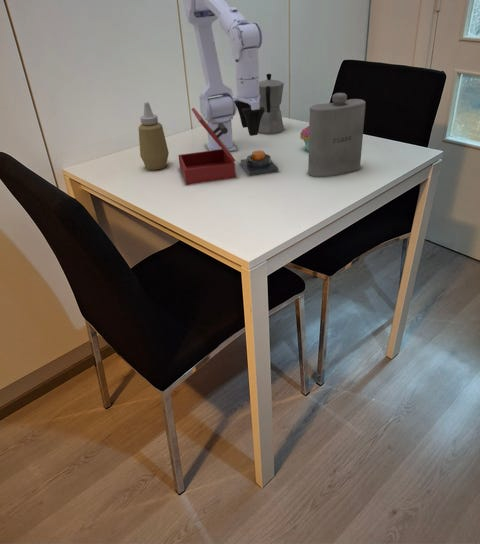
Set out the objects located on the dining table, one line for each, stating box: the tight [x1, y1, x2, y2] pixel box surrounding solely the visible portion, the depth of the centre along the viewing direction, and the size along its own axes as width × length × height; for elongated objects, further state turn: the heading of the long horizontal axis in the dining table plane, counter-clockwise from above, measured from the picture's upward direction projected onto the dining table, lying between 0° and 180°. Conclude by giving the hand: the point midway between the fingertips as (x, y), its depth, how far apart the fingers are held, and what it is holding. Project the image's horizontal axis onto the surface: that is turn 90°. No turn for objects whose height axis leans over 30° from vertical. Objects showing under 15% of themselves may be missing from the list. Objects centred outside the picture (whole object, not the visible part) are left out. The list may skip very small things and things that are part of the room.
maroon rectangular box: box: [177, 149, 237, 186], centre depth 133 cm, size 13×12×4 cm
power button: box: [251, 150, 266, 160], centre depth 133 cm, size 4×4×2 cm
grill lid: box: [191, 107, 236, 163], centre depth 128 cm, size 14×12×4 cm
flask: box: [307, 92, 366, 178], centre depth 125 cm, size 15×6×20 cm, turn 109°
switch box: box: [240, 153, 279, 177], centre depth 134 cm, size 10×8×3 cm
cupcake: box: [299, 125, 309, 152], centre depth 142 cm, size 9×8×12 cm
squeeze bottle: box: [138, 101, 170, 171], centre depth 135 cm, size 8×8×18 cm
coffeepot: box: [258, 73, 285, 135], centre depth 158 cm, size 15×9×18 cm, turn 175°
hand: (250, 130), depth 129 cm, fingers open, 7 cm apart
